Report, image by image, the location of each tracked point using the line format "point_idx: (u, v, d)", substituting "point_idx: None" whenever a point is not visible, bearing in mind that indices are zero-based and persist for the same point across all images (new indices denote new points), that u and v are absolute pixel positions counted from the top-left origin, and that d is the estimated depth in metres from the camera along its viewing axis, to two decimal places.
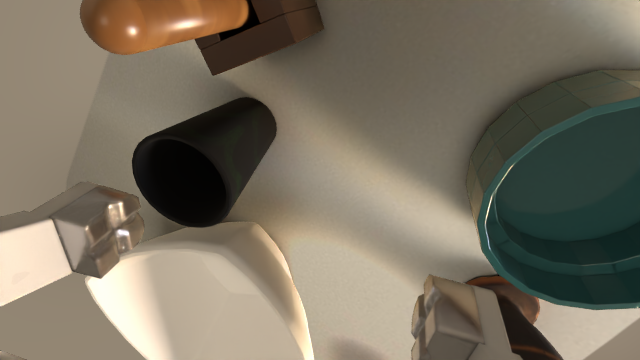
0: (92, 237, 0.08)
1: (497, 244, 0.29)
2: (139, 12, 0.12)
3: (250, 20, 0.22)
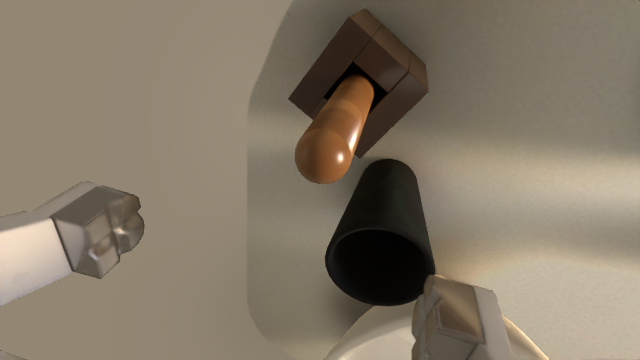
0: (92, 237, 0.08)
1: None
2: (341, 139, 0.13)
3: None
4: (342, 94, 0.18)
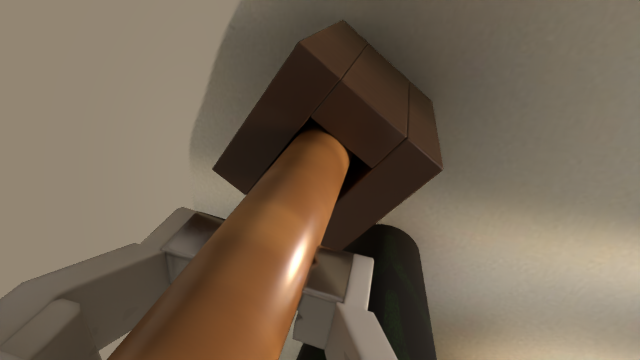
0: None
1: None
2: None
3: (350, 159, 0.13)
4: (275, 182, 0.09)
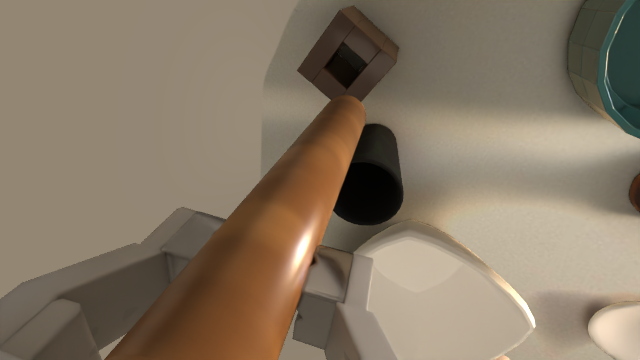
0: None
1: (639, 124, 0.31)
2: None
3: (350, 162, 0.14)
4: (275, 183, 0.09)
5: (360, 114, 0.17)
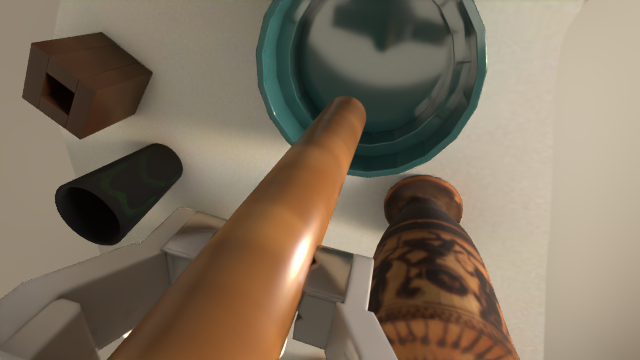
0: None
1: None
2: None
3: (350, 163, 0.14)
4: (276, 185, 0.09)
5: (360, 115, 0.17)
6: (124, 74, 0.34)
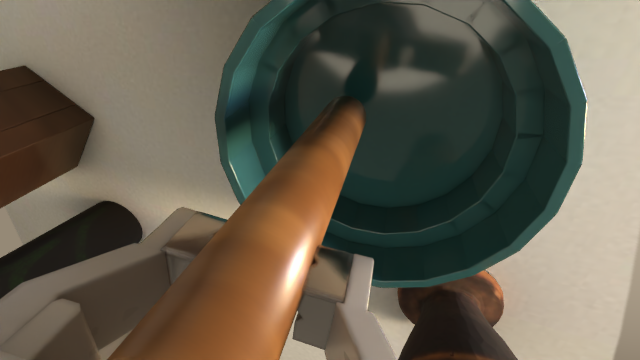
0: None
1: (347, 239, 0.23)
2: None
3: (350, 163, 0.14)
4: (276, 184, 0.09)
5: (360, 115, 0.17)
6: (49, 126, 0.25)
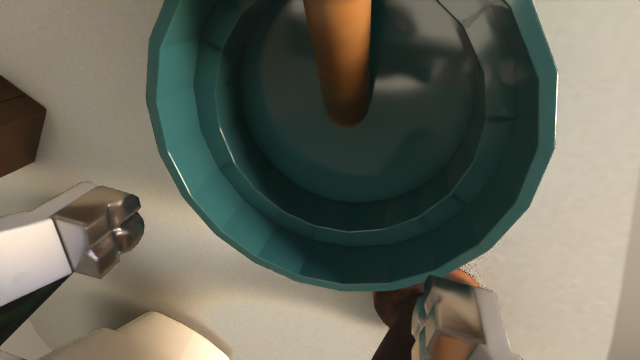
0: (92, 237, 0.08)
1: (310, 237, 0.21)
2: None
3: (369, 30, 0.13)
4: None
5: None
6: None
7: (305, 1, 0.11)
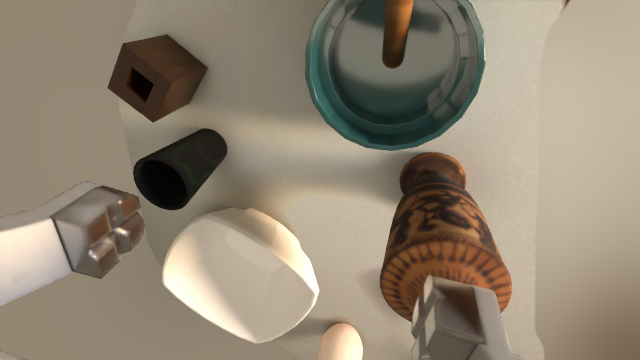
0: (92, 237, 0.08)
1: (370, 131, 0.40)
2: None
3: (410, 17, 0.31)
4: None
5: None
6: (188, 69, 0.42)
7: (388, 6, 0.30)
